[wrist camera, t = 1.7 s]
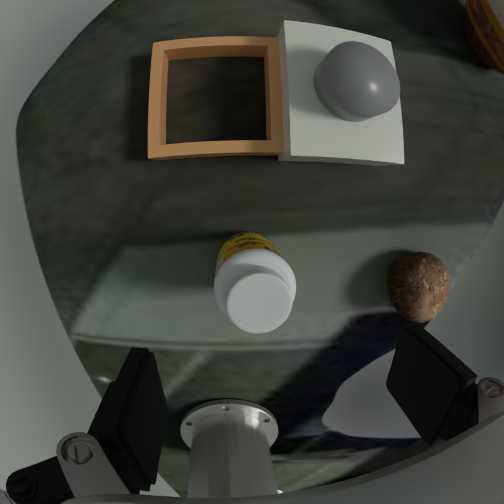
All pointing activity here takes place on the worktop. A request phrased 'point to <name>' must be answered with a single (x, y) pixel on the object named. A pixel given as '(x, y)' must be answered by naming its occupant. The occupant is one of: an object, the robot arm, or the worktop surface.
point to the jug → (486, 30)
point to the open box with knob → (299, 96)
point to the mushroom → (418, 286)
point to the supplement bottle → (253, 283)
